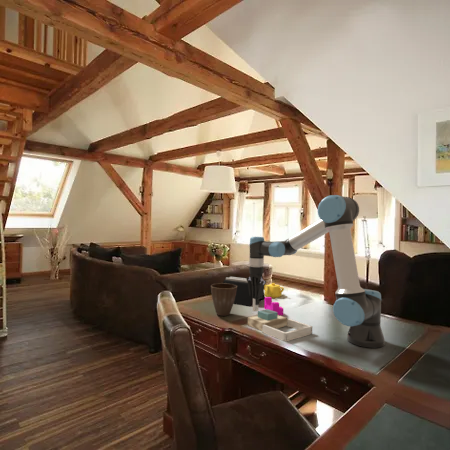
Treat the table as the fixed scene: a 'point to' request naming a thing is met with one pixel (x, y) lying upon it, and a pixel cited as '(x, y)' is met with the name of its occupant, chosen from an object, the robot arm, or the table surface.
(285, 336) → the box
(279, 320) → the plate
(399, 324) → the table surface
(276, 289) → the teapot
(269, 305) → the magenta notched bracket
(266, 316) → the teal rectangular block
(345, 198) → the robot arm
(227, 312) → the plant pot
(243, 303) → the device stand
